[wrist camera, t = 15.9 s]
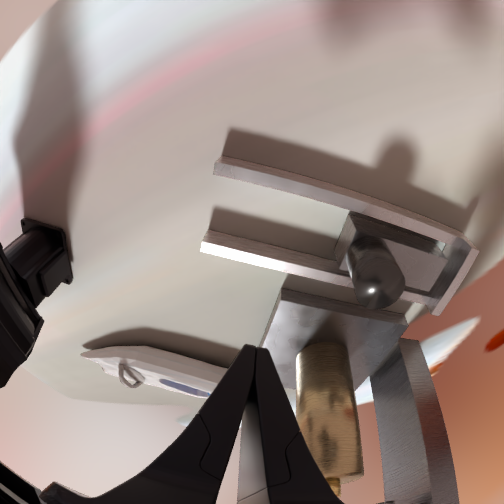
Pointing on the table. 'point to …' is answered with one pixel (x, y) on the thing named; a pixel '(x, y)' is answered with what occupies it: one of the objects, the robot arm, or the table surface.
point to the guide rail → (327, 270)
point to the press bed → (375, 387)
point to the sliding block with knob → (386, 261)
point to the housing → (329, 412)
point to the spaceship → (158, 369)
